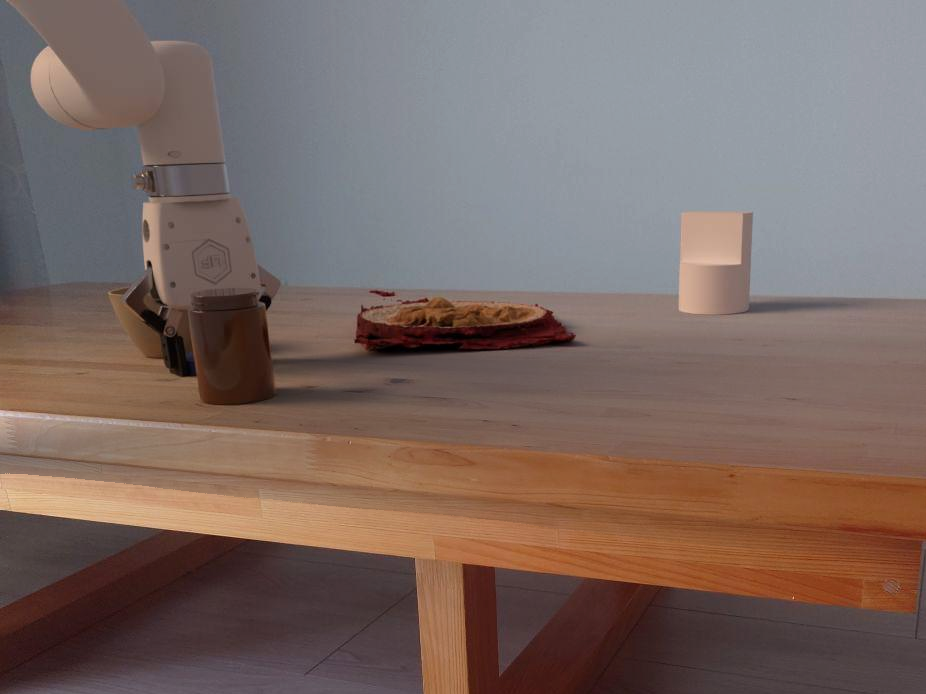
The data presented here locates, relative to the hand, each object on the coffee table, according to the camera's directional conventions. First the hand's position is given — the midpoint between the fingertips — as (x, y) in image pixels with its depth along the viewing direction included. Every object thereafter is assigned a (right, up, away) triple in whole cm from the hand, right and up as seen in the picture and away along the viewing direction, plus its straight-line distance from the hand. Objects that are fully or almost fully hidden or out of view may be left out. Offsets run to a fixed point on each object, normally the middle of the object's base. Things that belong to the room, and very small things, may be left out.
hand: (215, 367), depth 103 cm
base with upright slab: (+56, +12, +28) cm, 63 cm away
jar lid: (0, +1, 0) cm, 1 cm away
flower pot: (-8, +3, +8) cm, 12 cm away
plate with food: (+24, +7, +17) cm, 30 cm away
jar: (+6, -5, -12) cm, 15 cm away
